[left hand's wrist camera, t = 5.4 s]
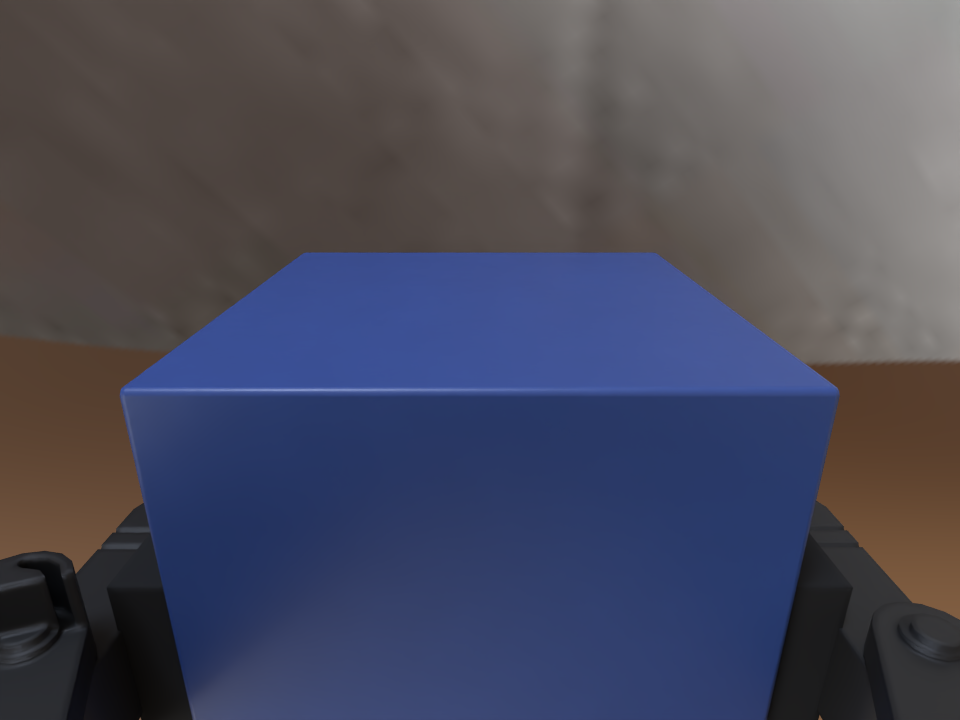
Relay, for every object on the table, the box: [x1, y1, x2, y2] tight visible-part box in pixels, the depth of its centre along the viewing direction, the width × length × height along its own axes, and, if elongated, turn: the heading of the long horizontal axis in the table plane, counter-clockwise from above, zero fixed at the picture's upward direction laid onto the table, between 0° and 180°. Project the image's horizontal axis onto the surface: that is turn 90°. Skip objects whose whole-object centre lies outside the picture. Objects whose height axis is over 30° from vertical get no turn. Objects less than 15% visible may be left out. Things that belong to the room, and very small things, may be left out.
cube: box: [120, 253, 839, 720], centre depth 11 cm, size 8×8×7 cm
